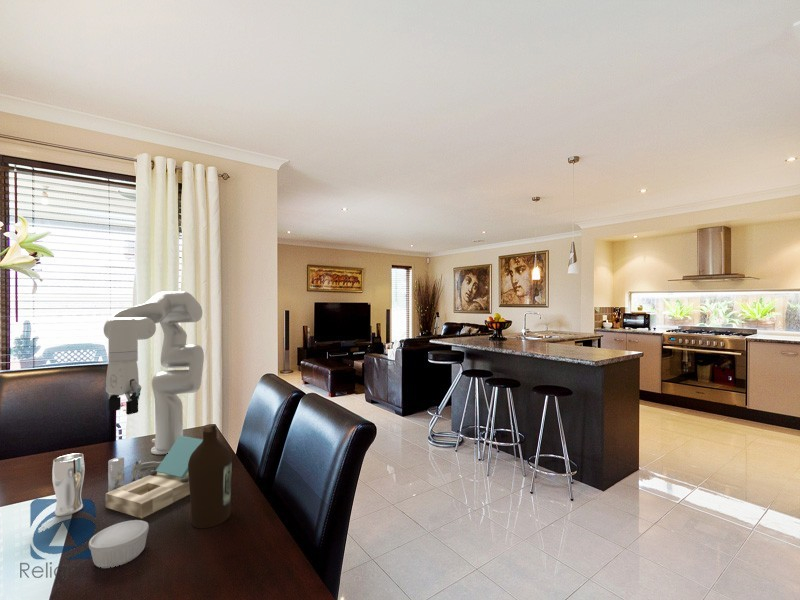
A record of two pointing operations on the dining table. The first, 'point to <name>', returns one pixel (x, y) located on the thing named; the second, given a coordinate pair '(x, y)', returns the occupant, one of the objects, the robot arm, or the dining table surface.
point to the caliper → (143, 468)
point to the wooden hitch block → (148, 494)
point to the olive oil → (210, 480)
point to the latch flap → (179, 456)
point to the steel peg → (115, 473)
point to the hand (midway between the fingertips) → (123, 412)
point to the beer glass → (68, 483)
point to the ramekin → (118, 543)
